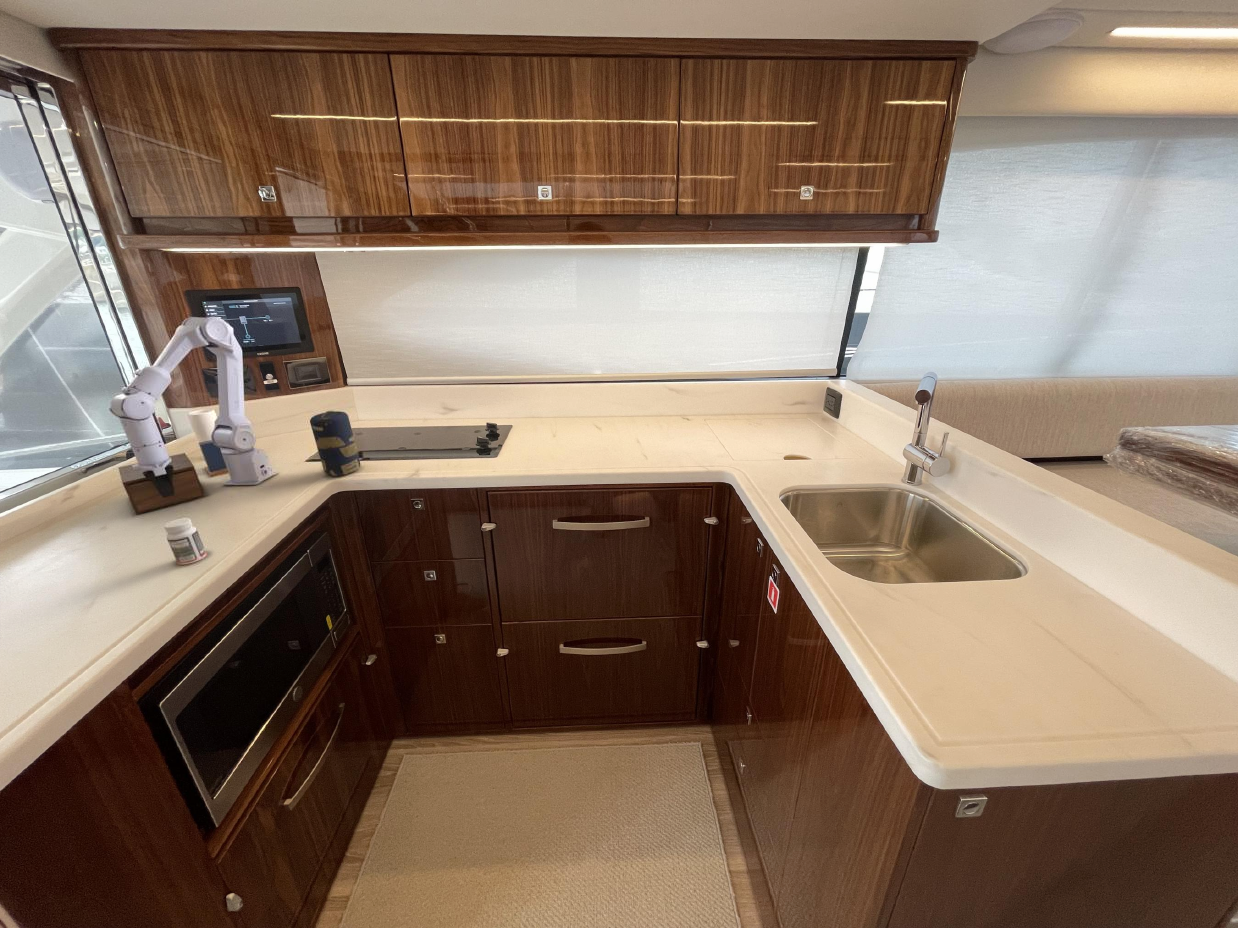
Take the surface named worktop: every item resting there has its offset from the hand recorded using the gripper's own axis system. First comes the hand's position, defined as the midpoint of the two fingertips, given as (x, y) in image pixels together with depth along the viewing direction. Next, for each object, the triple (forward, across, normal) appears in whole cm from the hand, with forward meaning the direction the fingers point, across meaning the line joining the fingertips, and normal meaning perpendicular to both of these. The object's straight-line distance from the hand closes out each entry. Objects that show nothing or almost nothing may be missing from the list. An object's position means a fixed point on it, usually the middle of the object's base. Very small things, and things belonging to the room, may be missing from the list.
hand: (168, 495), depth 124 cm
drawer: (+2, -8, 0) cm, 8 cm away
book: (+2, -24, +16) cm, 29 cm away
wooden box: (+3, -10, 0) cm, 11 cm away
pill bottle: (+4, +35, -1) cm, 35 cm away
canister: (+4, +9, +37) cm, 38 cm away
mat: (+3, -24, +16) cm, 29 cm away
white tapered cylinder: (+3, -39, +16) cm, 42 cm away
